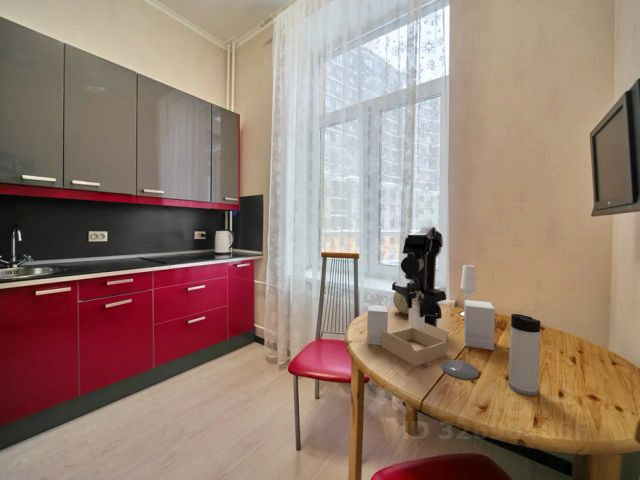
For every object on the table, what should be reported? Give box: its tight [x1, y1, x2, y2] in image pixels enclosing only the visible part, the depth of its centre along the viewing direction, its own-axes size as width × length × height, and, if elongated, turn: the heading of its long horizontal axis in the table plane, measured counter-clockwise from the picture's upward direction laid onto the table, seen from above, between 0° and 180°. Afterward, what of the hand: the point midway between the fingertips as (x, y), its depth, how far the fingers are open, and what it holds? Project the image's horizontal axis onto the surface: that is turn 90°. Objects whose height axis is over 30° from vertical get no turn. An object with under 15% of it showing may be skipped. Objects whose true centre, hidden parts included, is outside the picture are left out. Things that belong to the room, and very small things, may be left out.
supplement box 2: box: [463, 299, 496, 351], centre depth 99 cm, size 9×9×15 cm
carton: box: [380, 323, 450, 367], centre depth 93 cm, size 19×15×7 cm
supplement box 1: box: [366, 305, 389, 346], centre depth 101 cm, size 7×7×13 cm
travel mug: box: [508, 313, 541, 397], centre depth 71 cm, size 6×7×20 cm
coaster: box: [440, 359, 479, 380], centre depth 81 cm, size 10×10×1 cm
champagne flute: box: [459, 264, 477, 317], centre depth 130 cm, size 7×7×24 cm
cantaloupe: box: [392, 291, 421, 316], centre depth 132 cm, size 15×15×15 cm
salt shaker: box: [407, 298, 425, 329], centre depth 92 cm, size 4×4×10 cm
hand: (416, 315), depth 92 cm, fingers closed on salt shaker, 4 cm apart
